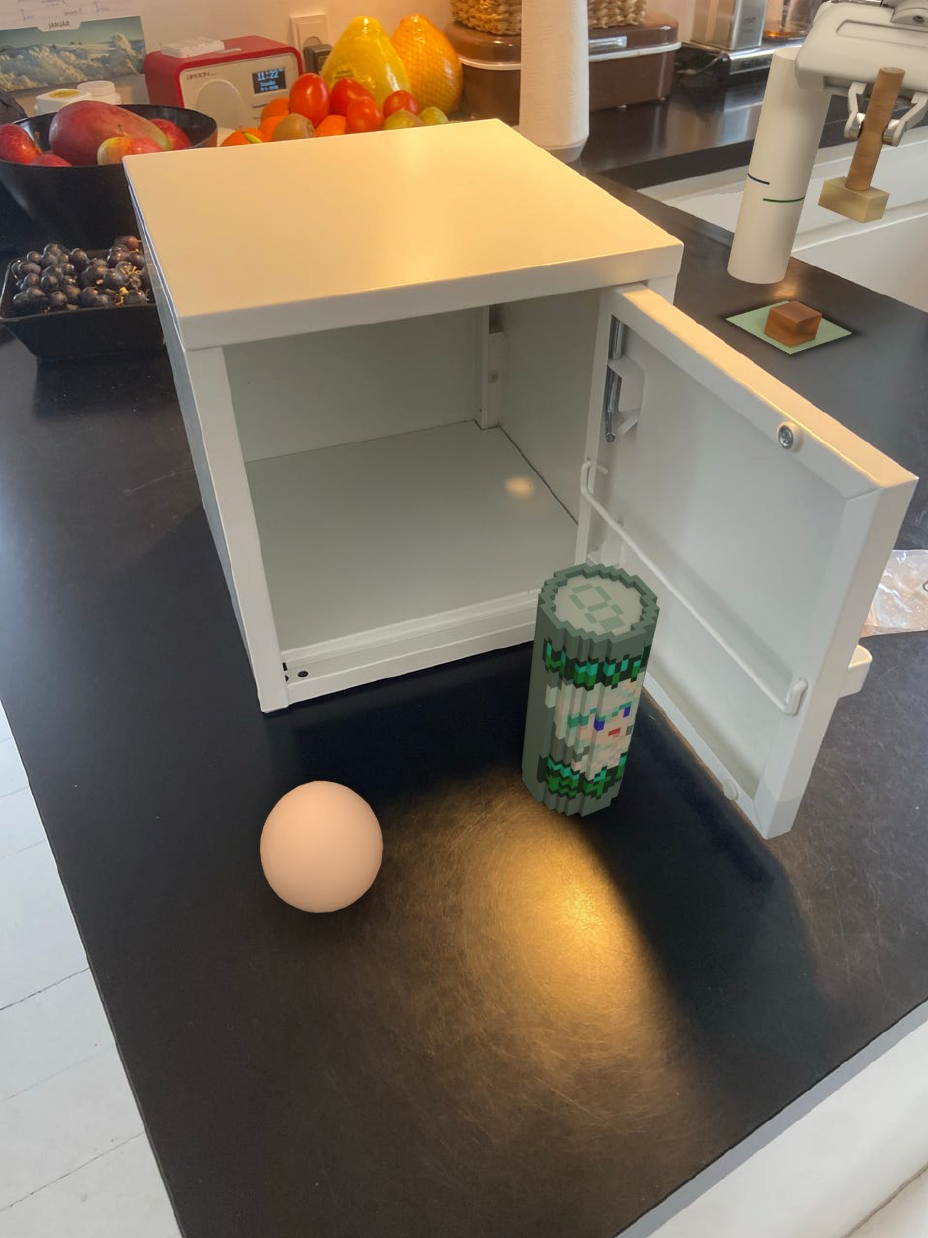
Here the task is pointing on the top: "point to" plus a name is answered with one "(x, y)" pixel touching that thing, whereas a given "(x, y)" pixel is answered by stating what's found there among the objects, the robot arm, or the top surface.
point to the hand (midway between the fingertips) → (870, 138)
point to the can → (585, 685)
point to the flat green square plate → (756, 326)
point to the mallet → (866, 156)
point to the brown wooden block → (792, 323)
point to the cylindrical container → (777, 174)
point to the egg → (321, 847)
